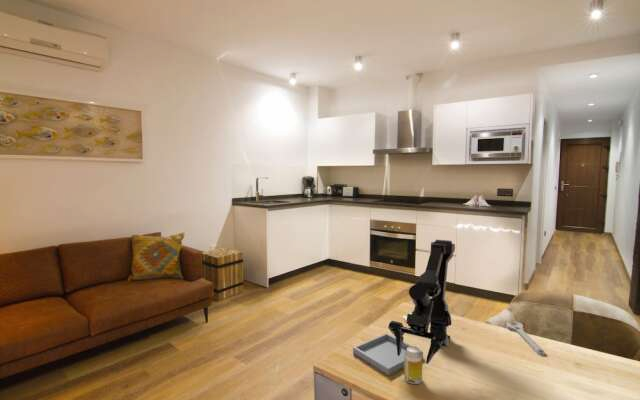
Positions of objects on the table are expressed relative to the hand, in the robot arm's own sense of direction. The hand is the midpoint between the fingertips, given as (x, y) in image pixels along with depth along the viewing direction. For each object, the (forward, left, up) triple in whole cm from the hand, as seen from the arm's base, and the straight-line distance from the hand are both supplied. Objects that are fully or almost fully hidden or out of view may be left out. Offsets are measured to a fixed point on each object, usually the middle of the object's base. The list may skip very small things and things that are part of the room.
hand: (412, 359), depth 109 cm
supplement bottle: (-1, 0, -7) cm, 7 cm away
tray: (-5, -15, -7) cm, 18 cm away
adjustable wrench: (-56, +9, -8) cm, 57 cm away
